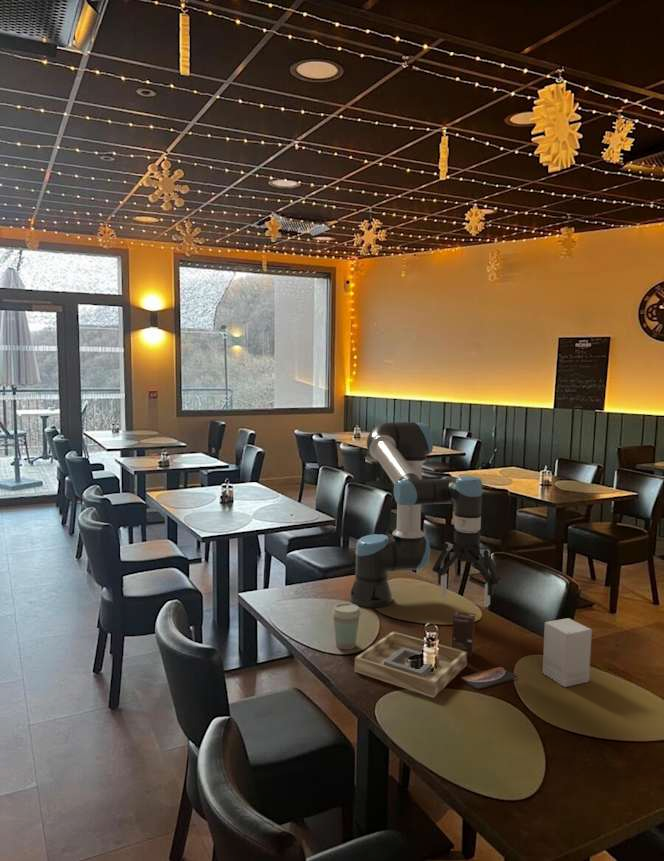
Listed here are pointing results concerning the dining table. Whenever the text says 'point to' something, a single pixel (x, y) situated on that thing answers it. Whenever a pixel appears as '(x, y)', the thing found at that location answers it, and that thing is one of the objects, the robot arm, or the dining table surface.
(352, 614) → the coffee cup
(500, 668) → the smartphone
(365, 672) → the birch tray
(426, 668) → the slate socket
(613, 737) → the dining table surface
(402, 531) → the robot arm
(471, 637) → the box
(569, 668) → the supplement box
